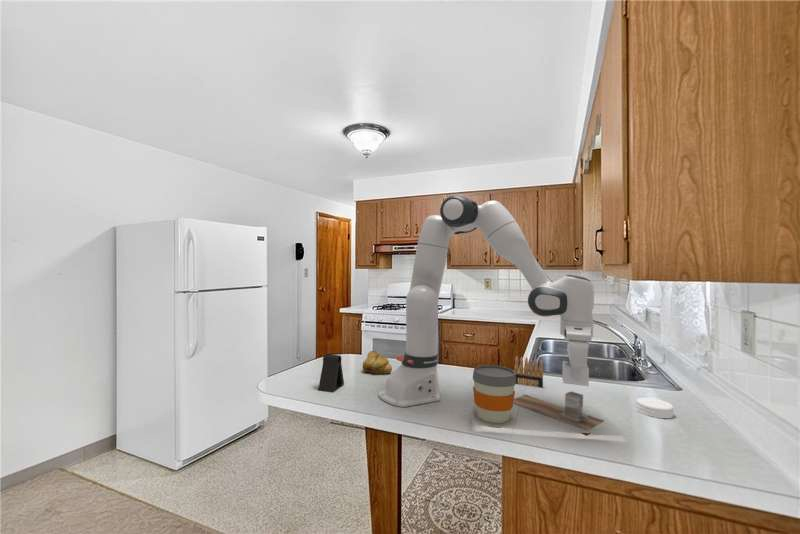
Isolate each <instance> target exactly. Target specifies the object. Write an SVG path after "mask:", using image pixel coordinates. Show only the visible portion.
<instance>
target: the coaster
mask: <svg viewBox="0 0 800 534" xmlns="http://www.w3.org/2000/svg"><path fill="white" fill-rule="evenodd" d="M635 405H636V406H635V409H636V411H637V412H639V413H640V414H642V413H643V415H645V414H646V415H645V416H647V415H649V416H648V417H651V416H653V417H652V418H655V417H658V418H657V419H662V418H669V419H673V418H674V409H675V407H674V406H673V404H671V403H670V402H667V401H665V400H661V399H658V398H654V397H647V396H646V397H638V398H636V403H635Z"/></svg>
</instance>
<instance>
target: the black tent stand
mask: <svg viewBox="0 0 800 534" xmlns="http://www.w3.org/2000/svg"><path fill="white" fill-rule="evenodd" d="M342 365H343V364H342V356H341V354H340V355H338V354H330V353H329V354H328V353H325V354H324V355H323V357H322V368H321V372H320V373H321V374H320V377H319V378H320V379H319V384H318V388H317V389H318V391H322V392H329V393H335V392H336V391H338V390H339V389H340V388H342V387H343V386H345V381H344V374H343V366H342Z"/></svg>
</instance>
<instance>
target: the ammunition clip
mask: <svg viewBox="0 0 800 534" xmlns="http://www.w3.org/2000/svg"><path fill="white" fill-rule="evenodd" d="M538 362H539V363H538ZM538 364H539V365H538ZM543 367H544V365H543V359H542V358H540V360H539V361H538V359H537V358H535V359H534V360H533V357H530V359H529V360H528V357H527V356H526V357H525V360H524V358H523V356H521V357H520V359H519V358H518V355H515V359H514V367H513V371H514V372H515V374H516V384H515V385H517V384H518V385H522V386H529V387H535V388H536V387H538V388H540V389H541V388H542V389H543V388H544V368H543Z"/></svg>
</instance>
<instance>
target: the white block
mask: <svg viewBox="0 0 800 534" xmlns="http://www.w3.org/2000/svg"><path fill="white" fill-rule="evenodd" d="M561 368H562V374H561V375H562V376H561V378H562V384H565V385H566V384H568V385H575V386H576V385H577V386H581V387H584V386H585V387H589V381H590V379H589V377H590V369H589V366H588V364H586V367H585V369H581V373H580V380H579V381H577V380H573V367H571V363H570V360H569V361H568V360H562V367H561Z"/></svg>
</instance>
